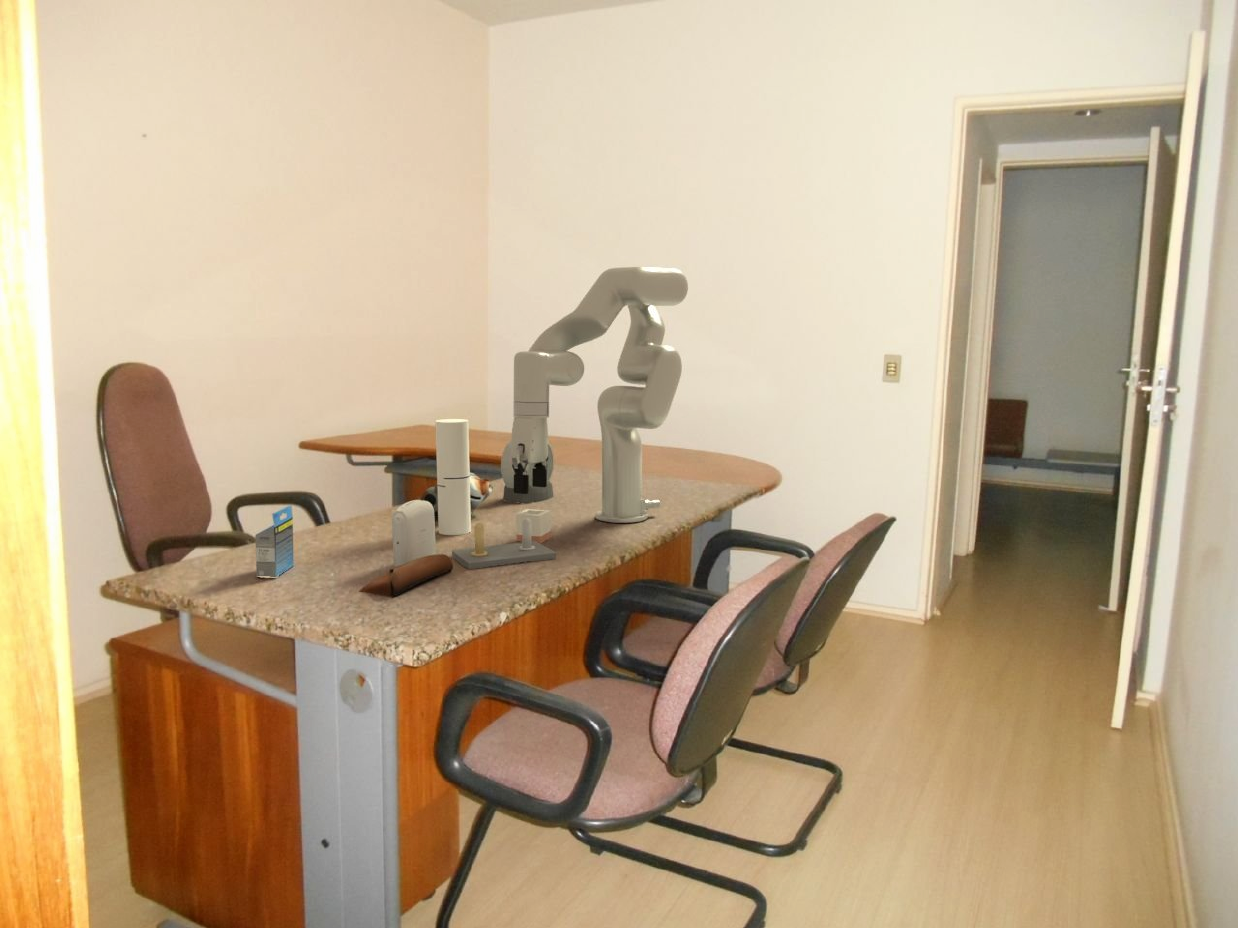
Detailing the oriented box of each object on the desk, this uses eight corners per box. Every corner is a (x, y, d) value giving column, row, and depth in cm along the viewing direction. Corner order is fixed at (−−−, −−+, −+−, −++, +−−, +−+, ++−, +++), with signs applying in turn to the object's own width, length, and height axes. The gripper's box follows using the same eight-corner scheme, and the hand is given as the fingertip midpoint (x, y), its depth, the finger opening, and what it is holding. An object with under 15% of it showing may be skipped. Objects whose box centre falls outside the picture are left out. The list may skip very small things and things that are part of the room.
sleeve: (527, 535, 203) (526, 508, 203) (550, 537, 202) (550, 510, 201) (516, 541, 198) (516, 514, 197) (540, 543, 196) (540, 515, 196)
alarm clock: (534, 491, 255) (533, 426, 252) (562, 496, 249) (562, 428, 247) (493, 501, 242) (492, 432, 240) (522, 505, 236) (521, 434, 234)
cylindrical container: (464, 535, 203) (461, 422, 199) (433, 534, 205) (430, 422, 201) (475, 528, 210) (473, 419, 206) (446, 527, 212) (442, 418, 208)
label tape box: (275, 566, 178) (271, 503, 176) (296, 566, 178) (292, 504, 176) (255, 579, 169) (251, 513, 167) (277, 579, 169) (274, 513, 167)
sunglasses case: (416, 566, 178) (430, 539, 175) (443, 588, 176) (457, 560, 173) (355, 592, 161) (369, 562, 159) (384, 616, 159) (399, 586, 157)
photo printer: (409, 571, 175) (407, 507, 173) (390, 568, 176) (387, 505, 175) (439, 558, 184) (437, 497, 182) (420, 556, 186) (418, 495, 184)
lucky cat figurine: (467, 507, 233) (489, 461, 228) (482, 535, 224) (505, 487, 219) (412, 497, 224) (434, 449, 220) (425, 525, 215) (448, 475, 211)
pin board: (535, 546, 194) (534, 511, 193) (555, 558, 184) (555, 521, 183) (451, 556, 186) (450, 519, 185) (468, 569, 176) (467, 530, 175)
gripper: (531, 407, 205) (530, 483, 207) (497, 412, 188) (496, 494, 191) (562, 408, 202) (561, 485, 205) (531, 413, 186) (530, 497, 188)
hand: (530, 490), depth 198 cm, fingers open, 9 cm apart
